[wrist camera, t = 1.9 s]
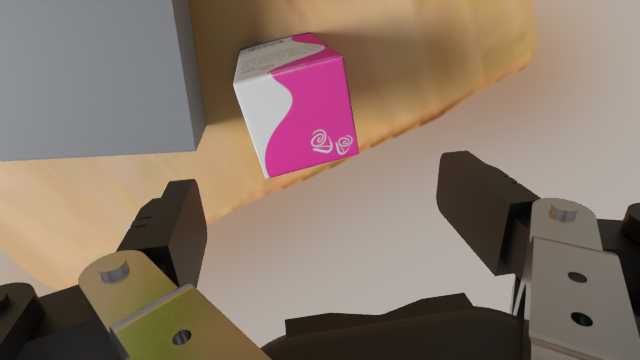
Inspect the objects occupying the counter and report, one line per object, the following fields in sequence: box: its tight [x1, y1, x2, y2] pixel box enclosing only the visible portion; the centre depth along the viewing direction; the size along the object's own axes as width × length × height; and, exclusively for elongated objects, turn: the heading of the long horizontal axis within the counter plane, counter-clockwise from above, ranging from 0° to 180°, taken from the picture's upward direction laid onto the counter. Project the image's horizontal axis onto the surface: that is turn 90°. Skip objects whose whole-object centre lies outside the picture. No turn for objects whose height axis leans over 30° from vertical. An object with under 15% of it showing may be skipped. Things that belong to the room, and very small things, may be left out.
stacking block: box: [0, 0, 206, 161], centre depth 24 cm, size 12×12×6 cm
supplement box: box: [233, 33, 359, 179], centre depth 24 cm, size 6×6×12 cm
